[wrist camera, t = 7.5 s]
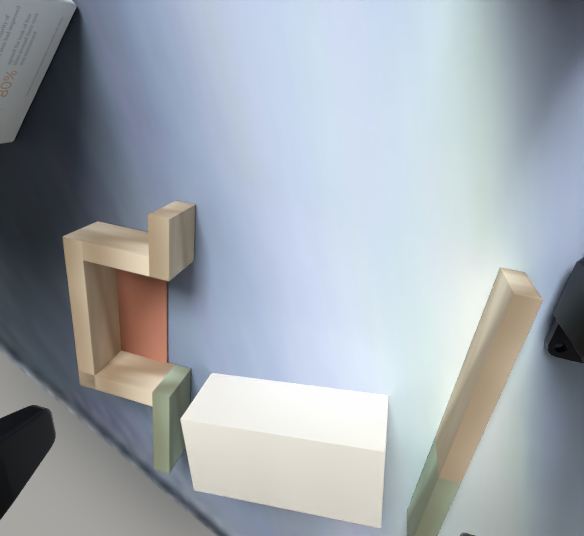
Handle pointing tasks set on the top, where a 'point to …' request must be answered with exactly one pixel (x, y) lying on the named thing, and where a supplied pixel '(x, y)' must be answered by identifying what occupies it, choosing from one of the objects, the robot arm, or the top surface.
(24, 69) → the small box
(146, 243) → the u-shaped wooden frame
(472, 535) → the robot arm
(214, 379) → the cream block
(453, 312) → the top surface
